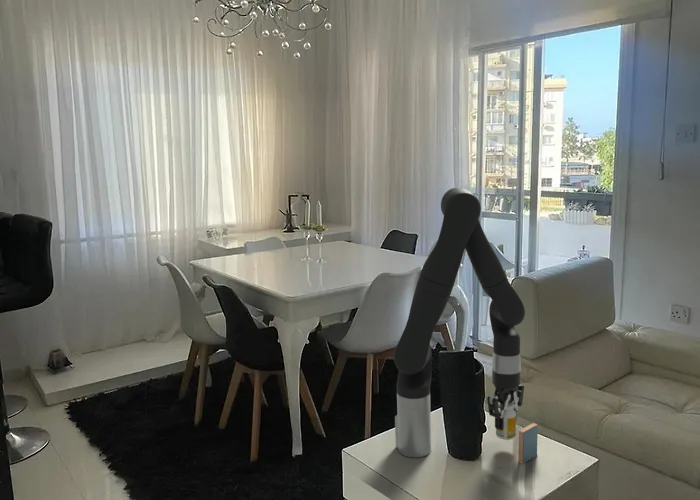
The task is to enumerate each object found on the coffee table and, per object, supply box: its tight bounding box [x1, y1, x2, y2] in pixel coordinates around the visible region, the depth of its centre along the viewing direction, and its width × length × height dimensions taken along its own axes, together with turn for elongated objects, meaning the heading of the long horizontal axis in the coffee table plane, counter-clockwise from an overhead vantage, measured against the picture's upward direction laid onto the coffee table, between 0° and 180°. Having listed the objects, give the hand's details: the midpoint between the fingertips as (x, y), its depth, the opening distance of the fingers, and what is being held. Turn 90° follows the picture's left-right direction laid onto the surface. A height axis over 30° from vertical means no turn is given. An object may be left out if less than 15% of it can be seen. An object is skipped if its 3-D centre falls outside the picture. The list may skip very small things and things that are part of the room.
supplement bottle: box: [495, 402, 517, 441], centre depth 160 cm, size 5×5×10 cm
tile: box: [517, 422, 538, 465], centre depth 156 cm, size 2×6×9 cm, turn 128°
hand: (505, 425), depth 161 cm, fingers closed on supplement bottle, 5 cm apart
